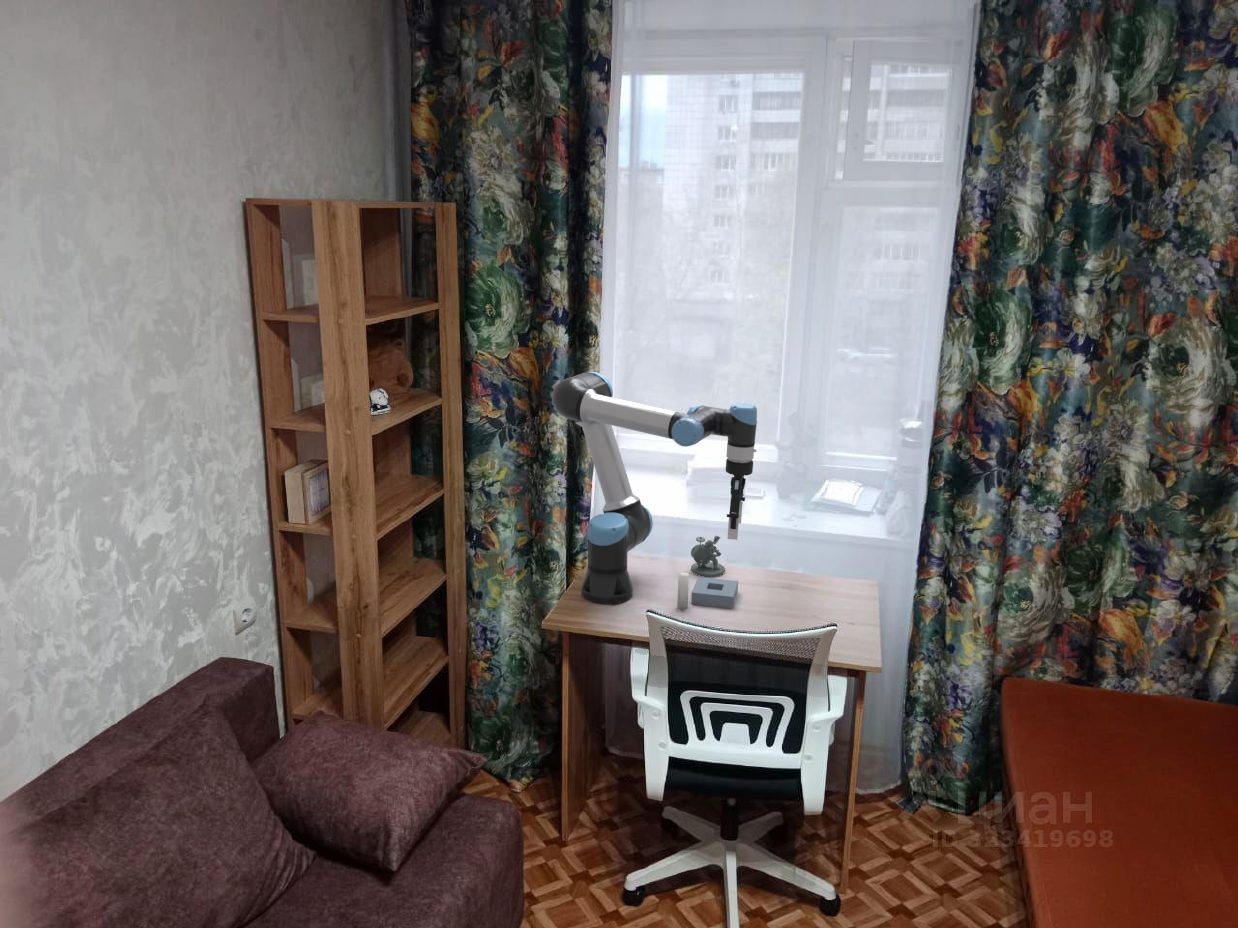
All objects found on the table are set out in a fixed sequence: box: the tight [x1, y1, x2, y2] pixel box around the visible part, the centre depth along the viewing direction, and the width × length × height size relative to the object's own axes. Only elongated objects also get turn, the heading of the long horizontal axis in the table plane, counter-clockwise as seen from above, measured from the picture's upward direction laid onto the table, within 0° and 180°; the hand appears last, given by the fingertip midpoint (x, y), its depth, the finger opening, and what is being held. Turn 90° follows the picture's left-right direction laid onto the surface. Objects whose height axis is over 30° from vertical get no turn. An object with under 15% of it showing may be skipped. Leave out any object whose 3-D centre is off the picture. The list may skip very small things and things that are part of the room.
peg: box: [676, 572, 690, 610], centre depth 262 cm, size 3×3×10 cm
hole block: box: [690, 576, 739, 609], centre depth 269 cm, size 12×12×4 cm
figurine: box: [690, 535, 726, 578], centre depth 288 cm, size 11×11×12 cm
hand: (734, 530), depth 262 cm, fingers open, 13 cm apart
